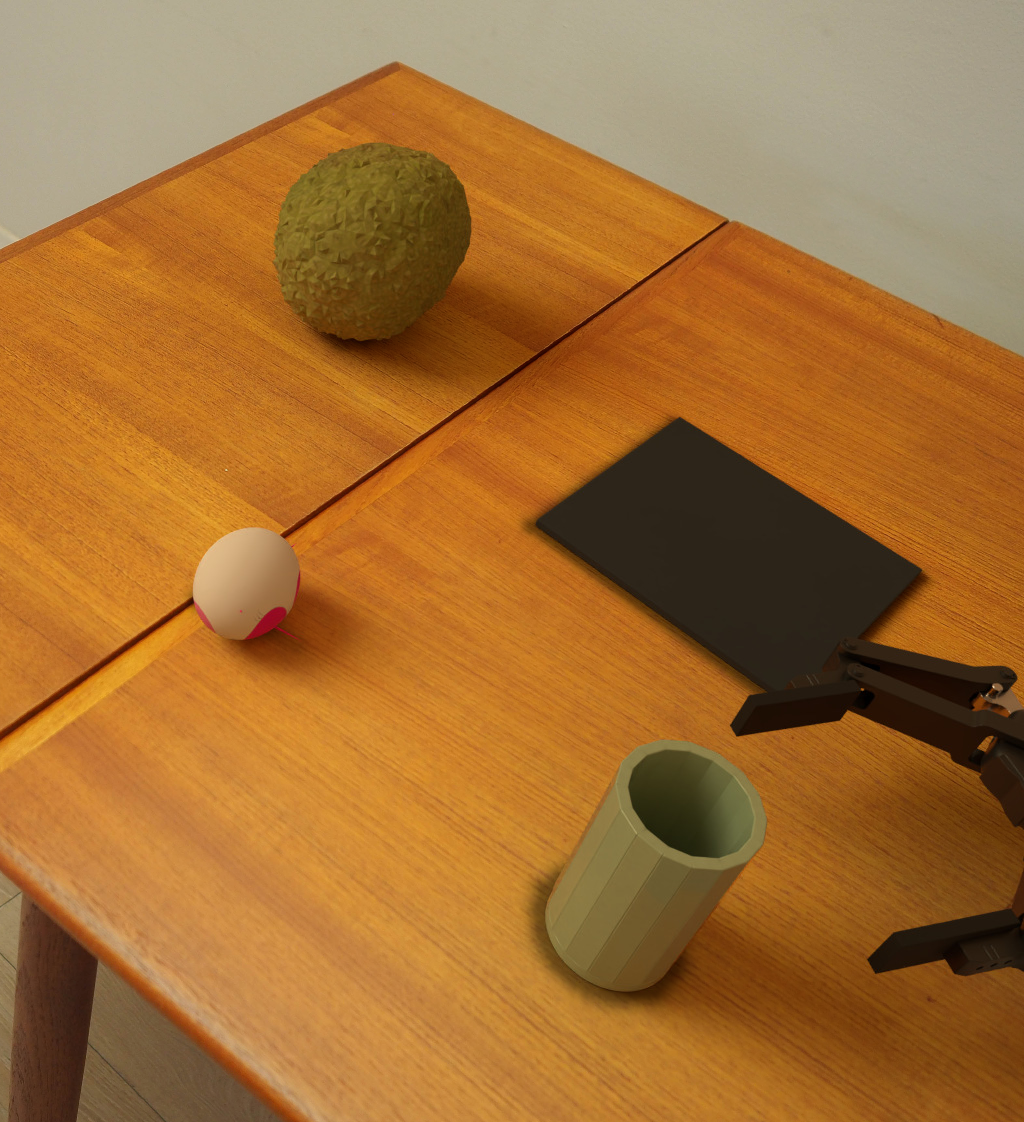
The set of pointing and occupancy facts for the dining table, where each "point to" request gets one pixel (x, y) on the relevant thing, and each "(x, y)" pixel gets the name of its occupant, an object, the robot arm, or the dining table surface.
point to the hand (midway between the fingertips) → (807, 826)
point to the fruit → (371, 240)
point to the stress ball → (246, 583)
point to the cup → (653, 863)
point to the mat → (730, 554)
